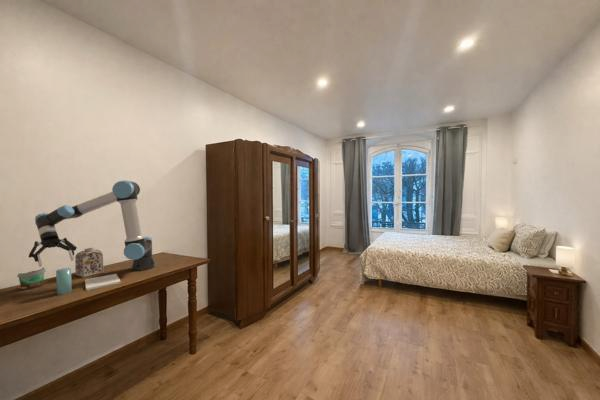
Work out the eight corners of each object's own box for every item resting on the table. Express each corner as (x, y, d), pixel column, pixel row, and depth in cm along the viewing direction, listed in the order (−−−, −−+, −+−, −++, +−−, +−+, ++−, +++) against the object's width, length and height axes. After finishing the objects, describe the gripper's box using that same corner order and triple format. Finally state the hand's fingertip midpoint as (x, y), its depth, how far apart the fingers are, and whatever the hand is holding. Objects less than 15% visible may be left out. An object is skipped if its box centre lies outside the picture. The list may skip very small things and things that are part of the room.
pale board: (116, 275, 164) (116, 273, 164) (120, 283, 150) (120, 281, 150) (84, 281, 153) (84, 279, 153) (86, 290, 139) (86, 288, 139)
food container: (25, 291, 138) (25, 274, 138) (17, 290, 139) (17, 273, 139) (51, 283, 150) (51, 267, 150) (44, 283, 151) (43, 267, 151)
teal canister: (71, 289, 140) (71, 267, 140) (71, 292, 136) (70, 269, 136) (57, 292, 136) (56, 269, 136) (56, 295, 132) (55, 272, 132)
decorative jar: (104, 272, 171) (103, 247, 170) (83, 277, 161) (82, 250, 160) (95, 270, 176) (94, 245, 176) (75, 275, 166) (74, 249, 166)
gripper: (73, 235, 161) (83, 260, 153) (17, 242, 140) (24, 272, 132) (76, 228, 158) (86, 253, 151) (18, 233, 137) (26, 263, 129)
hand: (57, 262), depth 141 cm, fingers open, 13 cm apart
